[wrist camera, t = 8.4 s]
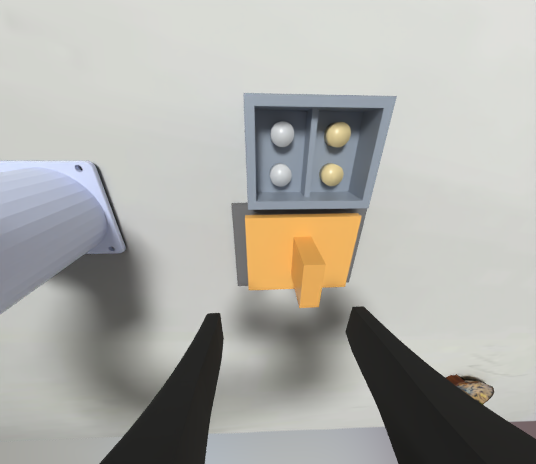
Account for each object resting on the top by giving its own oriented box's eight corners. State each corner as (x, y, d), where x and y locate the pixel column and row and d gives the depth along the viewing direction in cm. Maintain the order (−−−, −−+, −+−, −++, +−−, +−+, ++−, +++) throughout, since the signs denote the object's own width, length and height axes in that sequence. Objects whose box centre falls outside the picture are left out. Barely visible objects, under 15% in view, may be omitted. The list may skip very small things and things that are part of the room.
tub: (249, 197, 17) (248, 209, 14) (245, 100, 14) (243, 92, 11) (351, 196, 18) (368, 208, 15) (370, 102, 14) (396, 96, 12)
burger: (472, 400, 38) (518, 457, 31) (411, 410, 38) (443, 468, 32) (493, 365, 33) (554, 425, 26) (421, 377, 33) (463, 439, 26)
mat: (238, 283, 21) (237, 285, 21) (232, 203, 17) (231, 204, 17) (347, 279, 22) (348, 282, 22) (366, 201, 18) (368, 203, 17)
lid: (249, 280, 21) (247, 326, 16) (245, 211, 17) (242, 243, 12) (339, 276, 21) (364, 320, 16) (353, 209, 18) (391, 239, 13)
